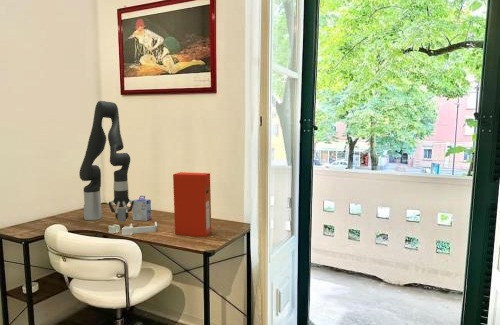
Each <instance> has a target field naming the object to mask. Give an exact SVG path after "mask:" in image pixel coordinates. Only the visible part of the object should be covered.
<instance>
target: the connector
mask: <svg viewBox="0 0 500 325" xmlns="http://www.w3.org/2000/svg"><path fill="white" fill-rule="evenodd" d="M117 212H118V220H117V222H126V221H127V219H126V211H125V209H124V207H119V209H118V211H117Z"/></svg>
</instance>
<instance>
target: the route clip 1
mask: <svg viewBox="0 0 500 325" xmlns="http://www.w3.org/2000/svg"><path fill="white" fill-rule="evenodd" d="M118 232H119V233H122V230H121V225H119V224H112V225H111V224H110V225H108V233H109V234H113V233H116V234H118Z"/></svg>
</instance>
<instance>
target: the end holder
mask: <svg viewBox="0 0 500 325" xmlns="http://www.w3.org/2000/svg"><path fill="white" fill-rule="evenodd" d="M129 227H133V228H132V233H133V234H132V235H134V234H143V233H154V232H158V222H157V221H154V225H148V226H137V227H134V226H133V223H130V225H129Z"/></svg>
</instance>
